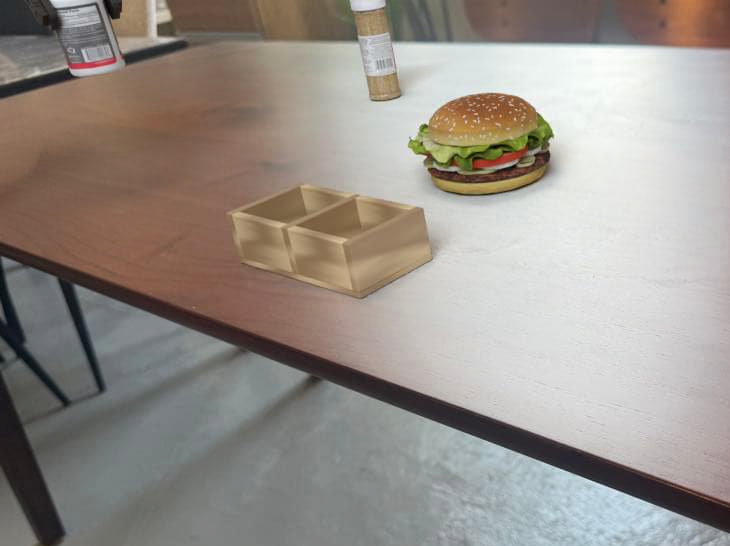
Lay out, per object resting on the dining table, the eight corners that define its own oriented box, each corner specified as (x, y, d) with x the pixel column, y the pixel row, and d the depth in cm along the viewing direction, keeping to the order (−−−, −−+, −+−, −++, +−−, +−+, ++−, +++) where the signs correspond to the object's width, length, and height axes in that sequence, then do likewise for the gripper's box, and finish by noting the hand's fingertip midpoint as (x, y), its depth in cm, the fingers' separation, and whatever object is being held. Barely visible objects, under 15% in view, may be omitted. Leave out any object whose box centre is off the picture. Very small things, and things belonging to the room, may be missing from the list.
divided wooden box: (240, 262, 75) (225, 213, 72) (312, 229, 80) (300, 182, 77) (360, 299, 66) (348, 244, 64) (432, 259, 71) (423, 207, 69)
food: (402, 174, 91) (388, 96, 87) (525, 148, 95) (517, 72, 90) (438, 213, 80) (424, 127, 76) (575, 182, 84) (570, 98, 80)
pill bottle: (85, 67, 91) (49, -35, 86) (134, 63, 91) (101, -40, 86) (61, 79, 87) (21, -28, 82) (113, 75, 87) (76, -33, 81)
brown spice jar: (400, 91, 123) (382, -13, 115) (402, 98, 119) (384, -8, 112) (368, 95, 122) (347, -8, 115) (369, 103, 118) (349, -4, 111)
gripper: (-86, -145, 79) (5, 3, 78) (74, -157, 87) (159, -22, 86) (-71, -79, 86) (13, 59, 84) (76, -95, 93) (155, 31, 92)
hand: (86, 18), depth 85 cm, fingers closed on pill bottle, 5 cm apart
